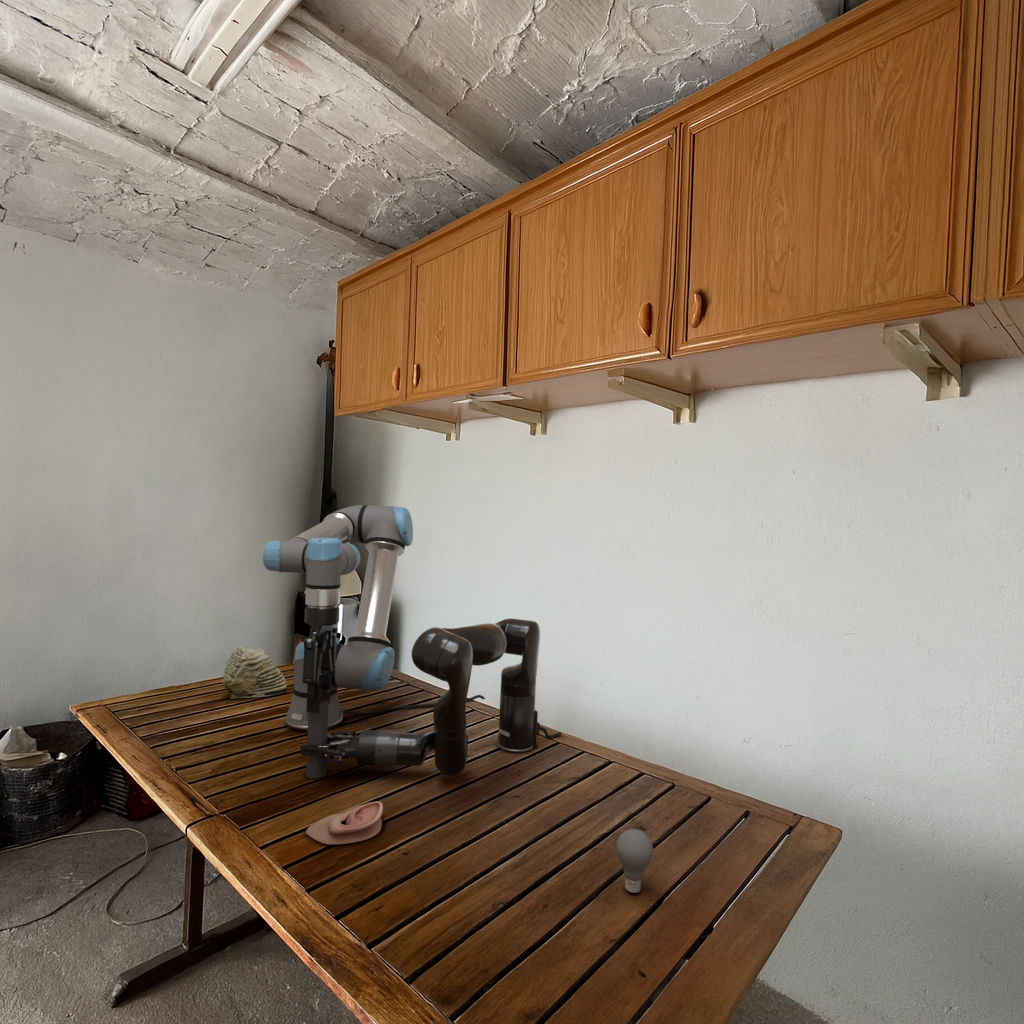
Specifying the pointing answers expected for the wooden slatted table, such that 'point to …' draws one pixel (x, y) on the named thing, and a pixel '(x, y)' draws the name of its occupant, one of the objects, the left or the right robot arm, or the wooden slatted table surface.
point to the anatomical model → (348, 825)
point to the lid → (324, 692)
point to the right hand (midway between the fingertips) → (305, 745)
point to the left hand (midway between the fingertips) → (318, 707)
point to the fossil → (252, 674)
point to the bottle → (317, 739)
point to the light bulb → (634, 857)
